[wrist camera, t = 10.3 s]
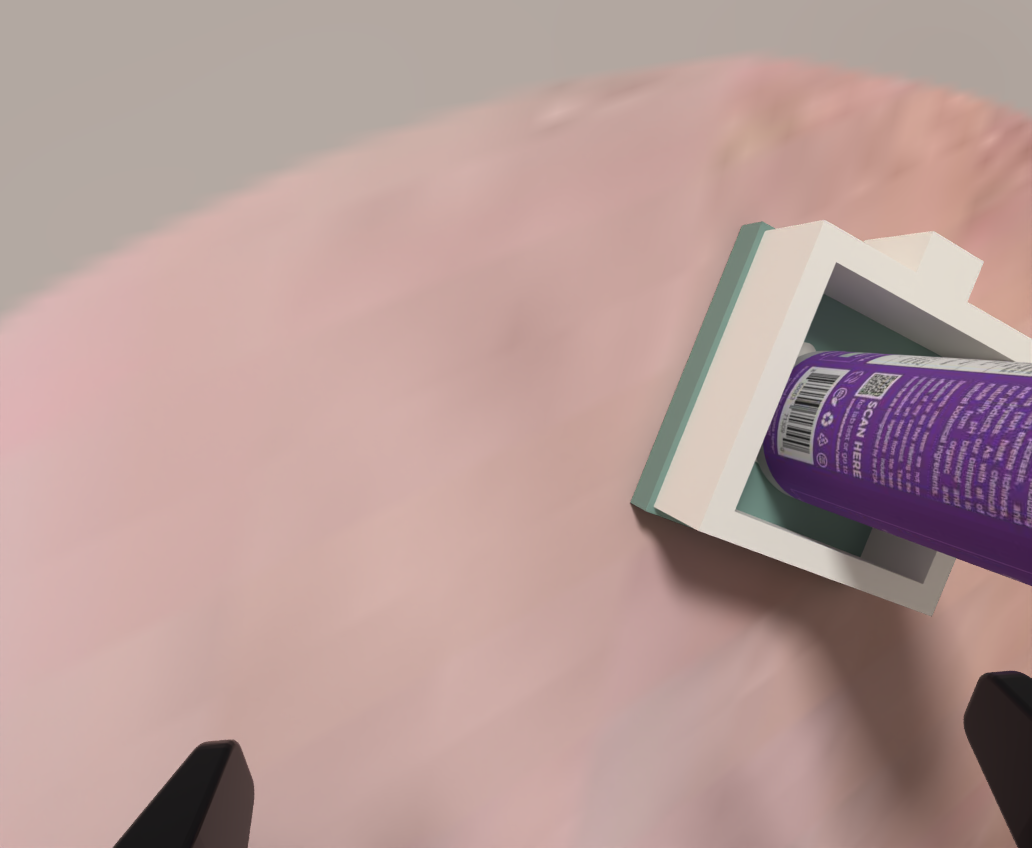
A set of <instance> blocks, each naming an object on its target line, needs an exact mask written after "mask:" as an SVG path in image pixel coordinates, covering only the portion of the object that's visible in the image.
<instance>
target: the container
mask: <svg viewBox="0 0 1032 848" xmlns="http://www.w3.org/2000/svg"><path fill="white" fill-rule="evenodd" d="M756 458H757V461H758V463H759V466H760V468H761V470H762V472H763V474H764V475H765V477H766V478H767V479H768V480H769V482H770V483H771V484H772V485H773V486H774V487H775V488H777V489H778V490H779V491H781V492H782V493H784V494H786V495H788V496H790V497H793V498H795V499H798V500H800V501H802V502H805V503H808V504H810V505H813V506H816V507H819V508H821V509H824V510H827V511H829V512H832V513H835V514H838V515H840V516H843V517H846V518H848V519H851V520H854V521H857V522H859V523H862V524H865V525H867V526H870V527H873V528H876V529H878V530H881V531H884V532H886V533H889V534H892V535H895V536H897V537H900V538H903V539H905V540H908V541H911V542H914V543H916V544H919V545H922V546H924V547H927V548H930V549H933V550H935V551H938V552H941V553H943V554H946V555H949V556H952V557H954V558H957V559H960V560H962V561H965V562H968V563H971V564H973V565H976V566H979V567H981V568H984V569H987V570H990V571H992V572H995V573H998V574H1000V575H1003V576H1006V577H1009V578H1011V579H1014V580H1017V581H1019V582H1022V583H1025V584H1028V585H1030V586H1032V363H1025V362H1009V361H992V360H976V359H960V358H943V357H927V356H911V355H894V354H878V353H862V352H845V351H815V352H811V353H807V354H804V355H801V356H799V357H797V359H796V362H795V364H794V367H793V369H792V371H791V374H790V376H789V379H788V381H787V384H786V386H785V389H784V391H783V394H782V396H781V398H780V401H779V403H778V406H777V408H776V411H775V413H774V416H773V418H772V421H771V423H770V425H769V428H768V430H767V433H766V435H765V438H764V440H763V443H762V445H761V448H760V450H759V452H758V455H757V457H756Z"/></svg>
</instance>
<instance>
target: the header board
mask: <svg viewBox="0 0 1032 848" xmlns="http://www.w3.org/2000/svg"><path fill="white" fill-rule="evenodd" d="M983 262H984V261H982V260H980V259H979V258H977V257H975V256H974V255H972V254H970V253H969V252H967V251H965V250H964V249H962V248H961V247H959V246H957V245H956V244H954V243H952V242H951V241H949V240H947V239H946V238H944V237H942V236H941V235H939V234H937V233H936V232H934V231H930V232H922V233H915V234H908V235H900V236H893V237H886V238H878V239H871V240H865V241H864V242H862V241H861V240H859V239H857V238H855V237H854V236H852V235H850V234H848V233H847V232H845V231H843V230H842V229H840V228H838V227H836V226H835V225H833V224H831V223H829V222H828V221H826V220H821V221H816V222H810V223H805V224H800V225H794V226H789V227H783V228H778V229H775V228H773V227H771V226H770V225H768V224H766V223H764V222H757V223H752V224H747V225H743V226H742V227H741V230H740V232H739V235H738V237H737V240H736V242H735V244H734V247H733V249H732V252H731V254H730V257H729V259H728V262H727V264H726V267H725V269H724V272H723V274H722V277H721V279H720V282H719V284H718V287H717V289H716V292H715V294H714V297H713V299H712V302H711V304H710V306H709V309H708V311H707V314H706V316H705V319H704V321H703V324H702V326H701V329H700V331H699V334H698V336H697V339H696V341H695V344H694V346H693V349H692V351H691V354H690V356H689V359H688V361H687V364H686V366H685V368H684V371H683V373H682V376H681V378H680V381H679V383H678V386H677V388H676V391H675V393H674V396H673V398H672V401H671V403H670V406H669V408H668V411H667V413H666V416H665V418H664V421H663V423H662V425H661V428H660V430H659V433H658V435H657V438H656V440H655V443H654V445H653V448H652V450H651V453H650V455H649V458H648V460H647V463H646V465H645V468H644V470H643V473H642V475H641V478H640V480H639V483H638V485H637V487H636V490H635V492H634V495H633V497H632V500H631V502H630V503H632V504H634V505H636V506H637V507H639V508H641V509H643V510H644V511H647V512H649V513H652V514H655V515H658V516H660V517H663V518H666V519H668V520H671V521H674V522H677V523H679V524H682V525H685V526H687V527H690V528H693V529H696V530H698V531H701V532H703V533H706V534H709V535H711V536H714V537H717V538H720V539H722V540H725V541H728V542H730V543H733V544H736V545H739V546H741V547H744V548H747V549H749V550H752V551H755V552H758V553H760V554H763V555H766V556H768V557H771V558H774V559H777V560H779V561H782V562H785V563H788V564H790V565H793V566H796V567H798V568H801V569H804V570H807V571H809V572H812V573H815V574H817V575H820V576H823V577H826V578H828V579H831V580H834V581H836V582H839V583H842V584H845V585H847V586H850V587H853V588H855V589H858V590H861V591H864V592H866V593H869V594H872V595H875V596H877V597H880V598H883V599H885V600H888V601H891V602H894V603H896V604H899V605H902V606H904V607H907V608H910V609H913V610H915V611H918V612H921V613H923V614H926V615H929V616H932V615H933V613H934V610H935V608H936V605H937V603H938V601H939V598H940V596H941V593H942V591H943V589H944V586H945V584H946V581H947V579H948V577H949V574H950V572H951V569H952V567H953V565H954V562H955V560H956V558H954V557H952V556H949V555H946V554H943V553H941V552H938V551H935V550H933V549H930V548H927V547H924V546H922V545H919V544H916V543H914V542H911V541H908V540H905V539H903V538H900V537H897V536H895V535H892V534H889V533H886V532H884V531H881V530H878V529H876V528H873V527H870V526H867V525H865V524H862V523H859V522H857V521H854V520H851V519H848V518H846V517H843V516H840V515H838V514H835V513H832V512H829V511H827V510H824V509H821V508H819V507H816V506H813V505H810V504H808V503H805V502H802V501H800V500H798V499H795V498H793V497H790V496H788V495H786V494H784V493H782V492H781V491H779V490H778V489H777V488H775V487H774V486H773V485H772V484H771V483H770V482H769V480H768V479H767V478H766V477H765V475H764V474H763V472H762V470H761V468H760V466H759V463H758V461H757V458H756V457H757V455H758V452H759V450H760V448H761V445H762V443H763V440H764V438H765V435H766V433H767V430H768V428H769V425H770V423H771V421H772V418H773V416H774V413H775V411H776V408H777V406H778V403H779V401H780V398H781V396H782V394H783V391H784V389H785V386H786V384H787V381H788V379H789V376H790V374H791V371H792V369H793V367H794V364H795V362H796V359H797V357H799V356H801V355H804V354H807V353H811V352H815V351H845V352H862V353H878V354H894V355H911V356H927V357H943V358H960V359H976V360H992V361H1009V362H1025V363H1032V339H1031V338H1029V337H1027V336H1026V335H1024V334H1022V333H1020V332H1019V331H1017V330H1015V329H1013V328H1012V327H1010V326H1008V325H1007V324H1005V323H1003V322H1001V321H1000V320H998V319H996V318H994V317H993V316H991V315H989V314H987V313H986V312H984V311H982V310H980V309H979V308H977V307H975V306H974V305H972V304H970V303H968V302H967V301H968V299H969V296H970V294H971V291H972V289H973V287H974V284H975V282H976V279H977V277H978V275H979V272H980V270H981V267H982V265H983Z"/></svg>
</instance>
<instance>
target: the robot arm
mask: <svg viewBox="0 0 1032 848" xmlns="http://www.w3.org/2000/svg"><path fill="white" fill-rule="evenodd" d="M964 729H965V733H966V736H967V738H968V741H969V743H970V745H971V747H972V749H973V752H974V754H975V756H976V758H977V760H978V762H979V765H980V767H981V769H982V771H983V773H984V776H985V778H986V780H987V782H988V784H989V786H990V789H991V791H992V793H993V795H994V797H995V800H996V802H997V804H998V806H999V808H1000V810H1001V813H1002V815H1003V817H1004V819H1005V821H1006V824H1007V826H1008V828H1009V830H1010V832H1011V834H1012V837H1013V839H1014V841H1015V843H1016V845H1017V847H1018V848H1032V678H1030V677H1029V676H1027V675H1025V674H1023V673H1021V672H1017V671H1002V672H991V673H985V674H984V675H982V676H981V677H980V678H979V680H978V682H977V684H976V687H975V689H974V692H973V694H972V696H971V699H970V701H969V704H968V706H967V709H966V711H965V714H964ZM253 805H254V783H253V779H252V776H251V774H250V771H249V768H248V765H247V763H246V760H245V757H244V755H243V752H242V749H241V747H240V745H239V743H238V742H236V741H235V740H220V741H208V742H204V743H202V744H200V745H199V746H197V747H196V748H195V749H194V750H193V751H192V753H191V754H190V755H189V756H188V758H187V759H186V760H185V761H184V762H183V764H182V765H181V766H180V767H179V768H178V770H177V771H176V772H175V773H174V774H173V776H172V777H171V778H170V779H169V780H168V782H167V783H166V784H165V785H164V786H163V788H162V789H161V790H160V791H159V792H158V794H157V795H156V796H155V797H154V798H153V800H152V801H151V802H150V803H149V804H148V806H147V807H146V808H145V809H144V810H143V812H142V813H141V814H140V815H139V817H138V818H137V819H136V820H135V821H134V823H133V824H132V825H131V826H130V827H129V829H128V830H127V831H126V832H125V833H124V835H123V836H122V837H121V838H120V839H119V841H118V842H117V843H116V844H115V845H114V847H113V848H248V841H249V834H250V826H251V819H252V812H253Z"/></svg>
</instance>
